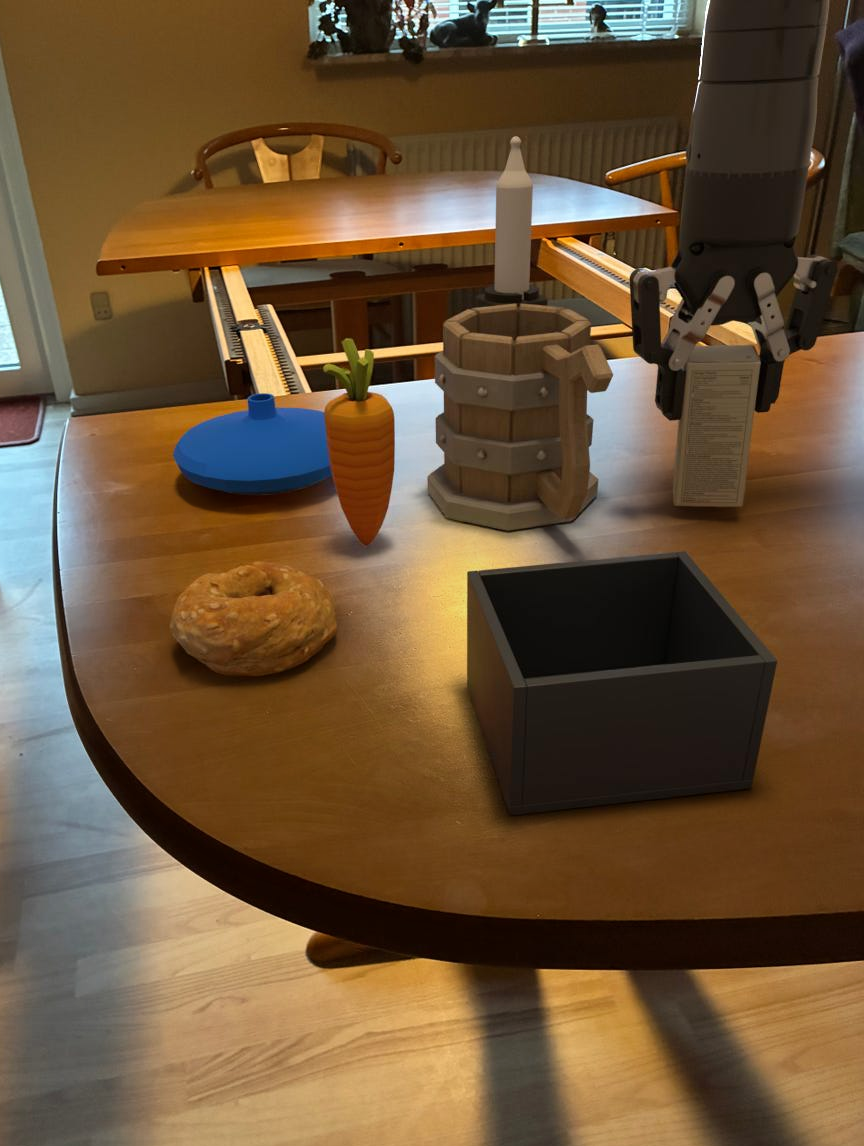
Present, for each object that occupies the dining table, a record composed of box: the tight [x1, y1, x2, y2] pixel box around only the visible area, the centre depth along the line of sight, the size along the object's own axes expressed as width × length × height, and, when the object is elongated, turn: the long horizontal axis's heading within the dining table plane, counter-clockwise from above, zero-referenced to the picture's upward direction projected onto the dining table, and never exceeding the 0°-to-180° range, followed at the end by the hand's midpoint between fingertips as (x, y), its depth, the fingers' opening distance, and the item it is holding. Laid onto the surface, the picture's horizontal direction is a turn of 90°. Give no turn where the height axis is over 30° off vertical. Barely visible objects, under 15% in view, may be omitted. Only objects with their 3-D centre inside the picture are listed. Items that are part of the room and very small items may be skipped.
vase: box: [172, 392, 333, 496], centre depth 83 cm, size 16×16×7 cm
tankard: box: [426, 304, 614, 532], centre depth 73 cm, size 20×13×15 cm, turn 14°
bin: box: [466, 550, 778, 816], centre depth 51 cm, size 12×11×8 cm
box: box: [672, 344, 761, 508], centre depth 72 cm, size 5×4×11 cm
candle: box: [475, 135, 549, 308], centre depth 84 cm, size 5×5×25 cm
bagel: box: [169, 560, 338, 677], centre depth 61 cm, size 10×11×5 cm
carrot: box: [322, 338, 396, 547], centre depth 69 cm, size 5×5×15 cm
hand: (715, 412), depth 72 cm, fingers closed on box, 6 cm apart
